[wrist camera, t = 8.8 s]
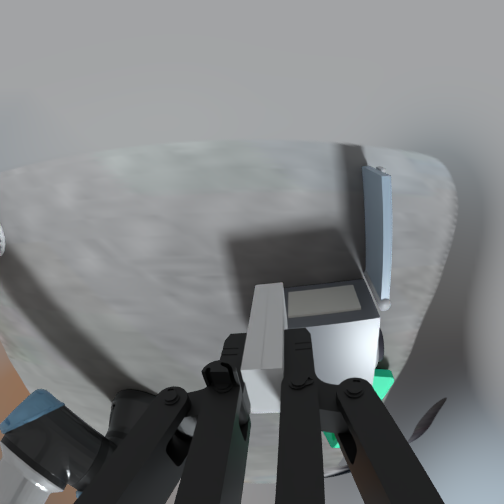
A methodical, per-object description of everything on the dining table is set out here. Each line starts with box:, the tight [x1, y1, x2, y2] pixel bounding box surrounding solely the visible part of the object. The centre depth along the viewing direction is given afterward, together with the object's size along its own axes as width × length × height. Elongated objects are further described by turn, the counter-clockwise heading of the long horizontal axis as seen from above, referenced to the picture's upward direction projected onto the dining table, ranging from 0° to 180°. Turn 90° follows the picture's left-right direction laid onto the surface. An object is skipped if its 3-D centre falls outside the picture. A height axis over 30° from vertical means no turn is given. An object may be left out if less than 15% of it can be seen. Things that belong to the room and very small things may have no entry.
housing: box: [283, 279, 384, 385], centre depth 30 cm, size 10×13×8 cm
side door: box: [362, 166, 392, 311], centre depth 25 cm, size 1×12×7 cm, turn 9°
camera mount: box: [323, 369, 394, 448], centre depth 34 cm, size 12×8×10 cm, turn 171°
